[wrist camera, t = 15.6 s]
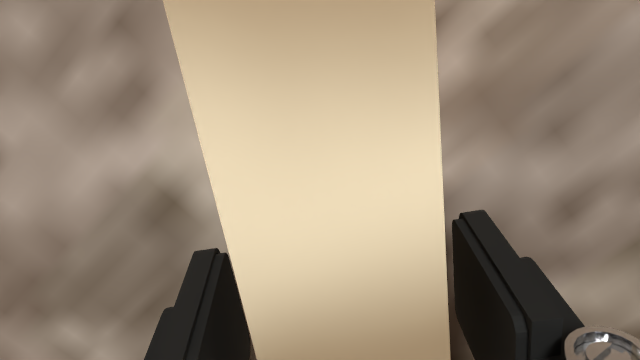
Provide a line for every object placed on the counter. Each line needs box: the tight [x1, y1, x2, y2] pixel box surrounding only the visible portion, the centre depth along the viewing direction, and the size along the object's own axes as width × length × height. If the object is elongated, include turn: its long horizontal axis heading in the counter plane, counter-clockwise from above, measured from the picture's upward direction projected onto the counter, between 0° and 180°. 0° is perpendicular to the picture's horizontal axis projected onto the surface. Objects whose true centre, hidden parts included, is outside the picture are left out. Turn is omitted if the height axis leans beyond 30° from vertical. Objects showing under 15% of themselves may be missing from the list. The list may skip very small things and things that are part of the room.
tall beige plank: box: [163, 0, 451, 360], centre depth 12 cm, size 15×8×5 cm, turn 8°
